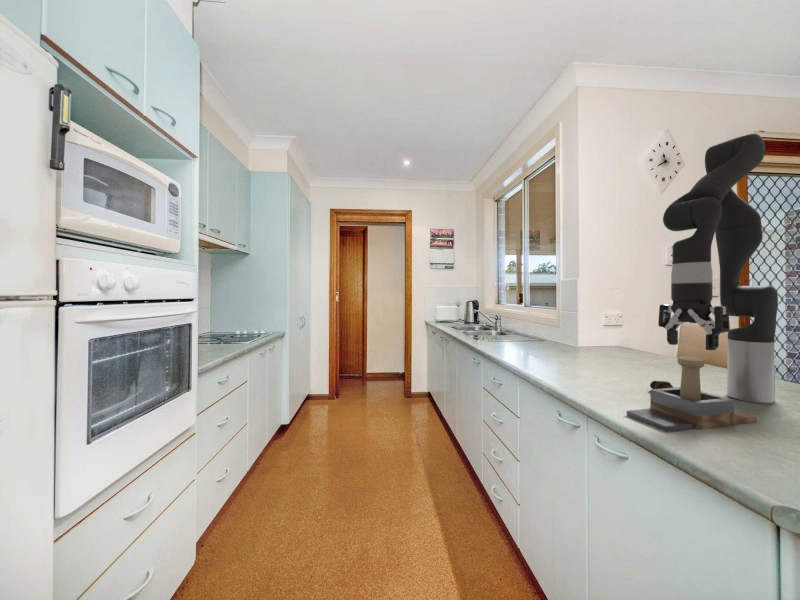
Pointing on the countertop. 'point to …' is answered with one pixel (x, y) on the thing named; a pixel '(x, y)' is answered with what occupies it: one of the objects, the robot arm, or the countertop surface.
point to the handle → (690, 377)
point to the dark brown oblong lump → (660, 385)
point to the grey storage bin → (681, 409)
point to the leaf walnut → (707, 417)
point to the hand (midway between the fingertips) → (690, 347)
